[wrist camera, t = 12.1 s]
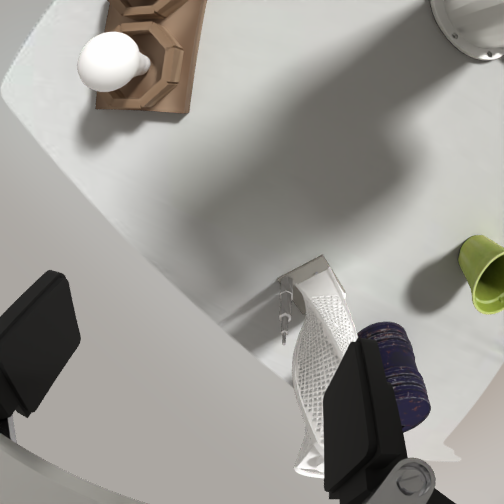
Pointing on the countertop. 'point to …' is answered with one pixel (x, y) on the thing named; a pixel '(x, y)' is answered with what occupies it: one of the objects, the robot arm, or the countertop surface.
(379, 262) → the countertop surface
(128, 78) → the lightbulb
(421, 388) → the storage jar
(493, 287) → the plant pot
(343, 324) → the skyscraper
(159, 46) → the socket board
